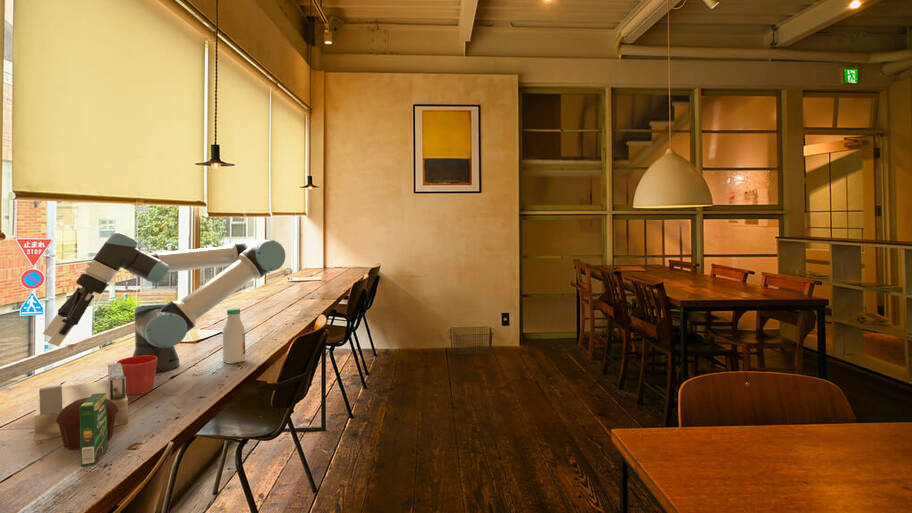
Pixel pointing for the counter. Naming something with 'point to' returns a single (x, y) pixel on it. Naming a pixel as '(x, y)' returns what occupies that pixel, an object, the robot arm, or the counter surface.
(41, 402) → the block
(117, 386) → the folding leg
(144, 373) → the flower pot
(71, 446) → the muffin
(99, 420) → the coffee box
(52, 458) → the counter surface
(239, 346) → the milk bottle
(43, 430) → the stool seat
